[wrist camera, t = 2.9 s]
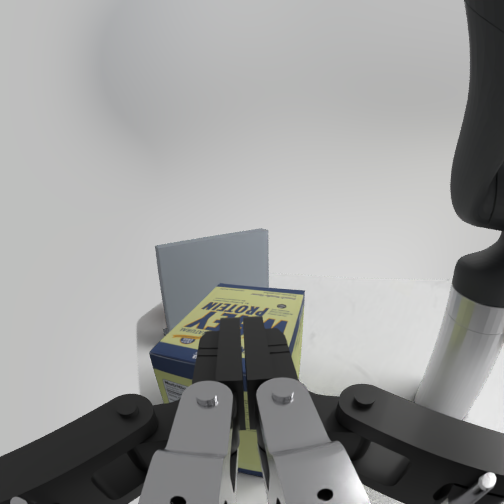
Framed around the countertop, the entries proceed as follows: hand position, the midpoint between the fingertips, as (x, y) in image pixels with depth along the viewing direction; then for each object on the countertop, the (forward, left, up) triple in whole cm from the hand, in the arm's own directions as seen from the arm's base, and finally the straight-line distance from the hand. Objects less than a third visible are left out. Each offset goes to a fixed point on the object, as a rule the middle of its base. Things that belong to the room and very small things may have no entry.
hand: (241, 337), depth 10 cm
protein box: (-7, -12, -22) cm, 26 cm away
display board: (-15, -35, -22) cm, 43 cm away
